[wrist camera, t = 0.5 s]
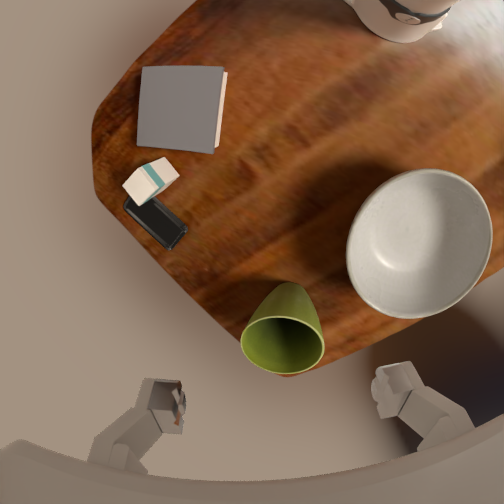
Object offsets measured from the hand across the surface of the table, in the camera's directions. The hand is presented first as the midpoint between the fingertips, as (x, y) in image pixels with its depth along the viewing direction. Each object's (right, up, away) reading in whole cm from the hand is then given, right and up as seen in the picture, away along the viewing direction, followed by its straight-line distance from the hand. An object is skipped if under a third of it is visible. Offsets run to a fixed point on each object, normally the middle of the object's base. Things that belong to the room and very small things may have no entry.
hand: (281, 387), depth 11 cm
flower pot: (+7, -4, +53) cm, 54 cm away
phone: (-22, +13, +52) cm, 58 cm away
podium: (-13, +32, +39) cm, 52 cm away
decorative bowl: (+29, +11, +40) cm, 51 cm away
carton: (-19, +21, +46) cm, 54 cm away
